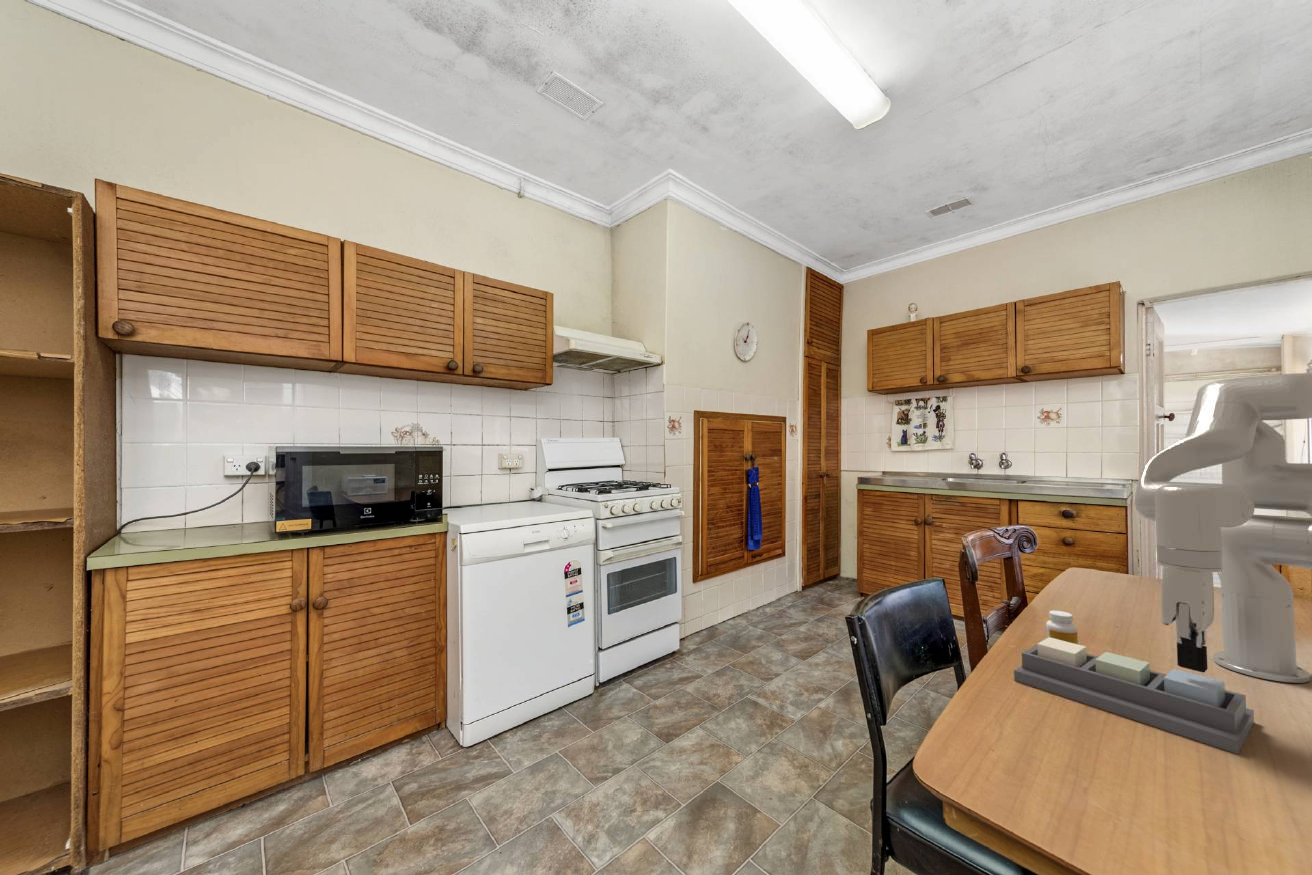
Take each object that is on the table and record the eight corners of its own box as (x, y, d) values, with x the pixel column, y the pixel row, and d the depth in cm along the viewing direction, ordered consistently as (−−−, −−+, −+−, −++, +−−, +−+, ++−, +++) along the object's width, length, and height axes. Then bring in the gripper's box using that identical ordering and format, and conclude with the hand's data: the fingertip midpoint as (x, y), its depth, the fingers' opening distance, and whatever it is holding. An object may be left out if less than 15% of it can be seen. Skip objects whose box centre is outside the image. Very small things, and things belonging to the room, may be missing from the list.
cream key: (1049, 651, 102) (1049, 637, 102) (1086, 661, 97) (1086, 646, 97) (1037, 658, 99) (1037, 643, 99) (1075, 669, 94) (1075, 653, 94)
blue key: (1173, 685, 87) (1172, 668, 87) (1225, 699, 82) (1224, 681, 82) (1164, 695, 83) (1163, 677, 84) (1217, 710, 78) (1217, 691, 79)
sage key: (1106, 667, 94) (1106, 651, 94) (1150, 679, 89) (1149, 662, 89) (1096, 675, 91) (1095, 659, 91) (1140, 688, 86) (1139, 671, 86)
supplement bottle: (1084, 663, 105) (1082, 618, 105) (1055, 662, 106) (1054, 616, 106) (1068, 653, 110) (1067, 609, 110) (1041, 651, 111) (1040, 608, 111)
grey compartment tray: (1044, 661, 106) (1043, 638, 106) (1254, 722, 82) (1252, 692, 82) (1014, 680, 98) (1013, 655, 98) (1237, 754, 74) (1236, 720, 74)
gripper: (1168, 550, 90) (1171, 651, 90) (1145, 559, 82) (1148, 670, 82) (1230, 557, 84) (1234, 665, 84) (1212, 568, 76) (1216, 689, 75)
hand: (1192, 668), depth 83 cm, fingers closed
